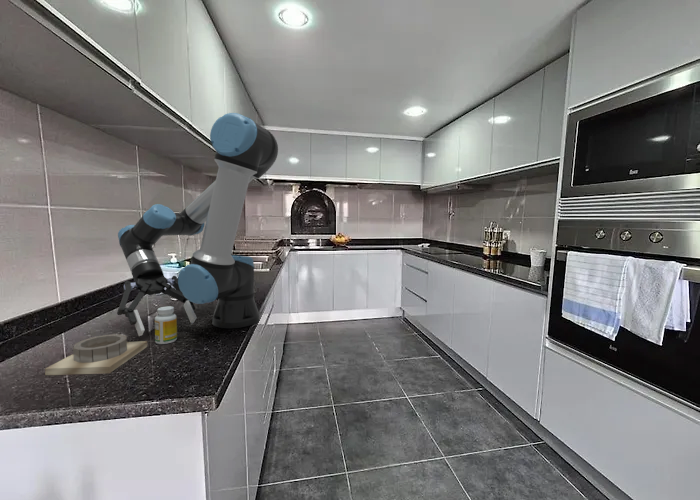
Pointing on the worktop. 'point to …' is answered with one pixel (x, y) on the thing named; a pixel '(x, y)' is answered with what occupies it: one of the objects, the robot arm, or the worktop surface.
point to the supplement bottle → (165, 325)
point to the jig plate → (95, 366)
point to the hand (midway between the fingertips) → (169, 326)
